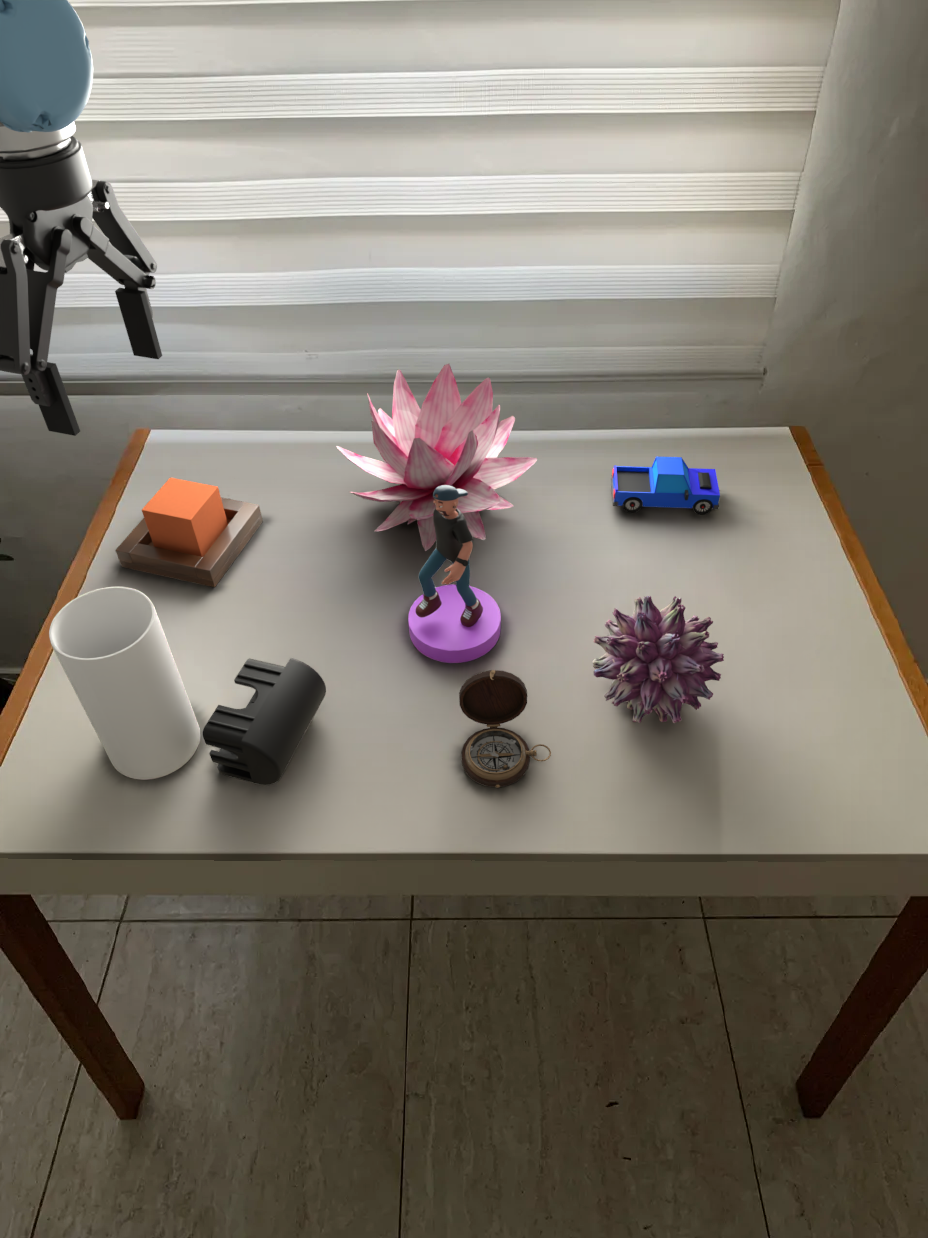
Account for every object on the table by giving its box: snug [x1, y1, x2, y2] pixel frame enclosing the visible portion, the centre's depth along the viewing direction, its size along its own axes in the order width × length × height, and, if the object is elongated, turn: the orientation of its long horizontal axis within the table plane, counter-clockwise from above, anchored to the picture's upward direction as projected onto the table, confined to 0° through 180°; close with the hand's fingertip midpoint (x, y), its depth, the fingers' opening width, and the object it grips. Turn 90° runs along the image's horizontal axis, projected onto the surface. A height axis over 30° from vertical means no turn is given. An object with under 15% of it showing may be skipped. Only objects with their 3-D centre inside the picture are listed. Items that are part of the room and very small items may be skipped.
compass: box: [458, 669, 552, 789], centre depth 80 cm, size 8×8×7 cm
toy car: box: [610, 456, 721, 516], centre depth 105 cm, size 7×12×5 cm, turn 86°
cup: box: [48, 586, 201, 781], centre depth 78 cm, size 8×8×16 cm
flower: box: [592, 595, 725, 724], centre depth 82 cm, size 12×12×12 cm
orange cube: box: [141, 477, 228, 557], centre depth 101 cm, size 6×6×6 cm
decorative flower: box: [335, 363, 538, 552], centre depth 101 cm, size 21×21×15 cm
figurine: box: [407, 485, 502, 664], centre depth 87 cm, size 9×9×18 cm
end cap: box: [202, 657, 327, 786], centre depth 81 cm, size 10×7×7 cm
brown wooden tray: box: [115, 496, 264, 588], centre depth 102 cm, size 12×12×2 cm
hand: (108, 391), depth 84 cm, fingers open, 13 cm apart
